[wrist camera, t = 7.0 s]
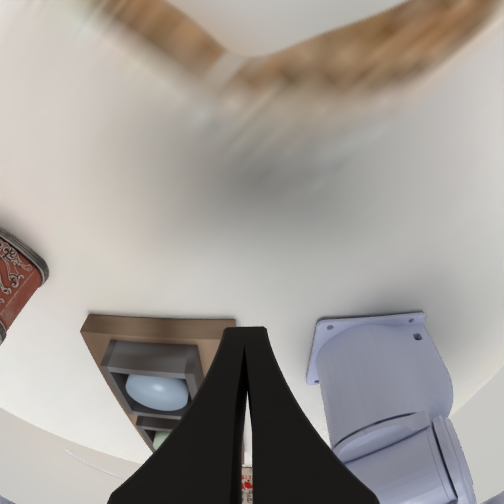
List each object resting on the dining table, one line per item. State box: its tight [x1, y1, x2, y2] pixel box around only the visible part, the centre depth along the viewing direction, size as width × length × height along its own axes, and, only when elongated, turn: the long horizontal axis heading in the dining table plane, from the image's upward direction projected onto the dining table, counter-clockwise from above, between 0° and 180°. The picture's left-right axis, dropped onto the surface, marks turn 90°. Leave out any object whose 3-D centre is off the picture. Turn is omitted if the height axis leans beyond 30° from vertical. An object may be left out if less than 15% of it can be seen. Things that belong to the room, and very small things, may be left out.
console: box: [80, 314, 244, 464], centre depth 27 cm, size 12×26×5 cm, turn 0°
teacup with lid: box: [242, 467, 252, 504], centre depth 36 cm, size 12×9×12 cm
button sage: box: [153, 431, 171, 450], centre depth 25 cm, size 5×5×2 cm
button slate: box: [126, 374, 189, 411], centre depth 21 cm, size 5×5×2 cm
